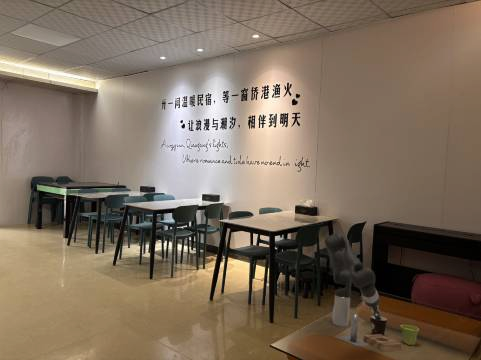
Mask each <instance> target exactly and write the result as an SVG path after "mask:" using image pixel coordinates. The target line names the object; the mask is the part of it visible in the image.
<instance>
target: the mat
mask: <svg viewBox="0 0 481 360" xmlns="http://www.w3.org/2000/svg"><path fill="white" fill-rule="evenodd" d="M337 337H338V338H339V339H341V340H343V341H345V342H347V343H348V344H350V343H352V344H354V345H357V346H356V347H360V346H361V347H362V346H371V345H370V344H368V343H366V342H364V340H362V339H360V338H358V337H357V342H351V341H350V339H351V335H340V336H337ZM352 344H351V345H352ZM354 345H353V346H354Z"/></svg>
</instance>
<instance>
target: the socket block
mask: <svg viewBox="0 0 481 360" xmlns="http://www.w3.org/2000/svg"><path fill="white" fill-rule="evenodd" d="M363 341H364V342H366V343H368V344H370V345H369V346H371V347H374V348H375V349H377V350H380V351H382V352H391V351H392V352H393V351H400V350H402V342H399V341H396V340H395V339H393V338H390V337H388V336H385V334H384V335H381V334H376V335H372V334H365V335H363Z"/></svg>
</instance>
